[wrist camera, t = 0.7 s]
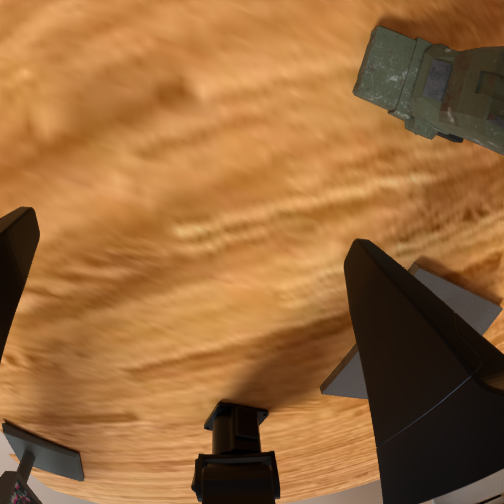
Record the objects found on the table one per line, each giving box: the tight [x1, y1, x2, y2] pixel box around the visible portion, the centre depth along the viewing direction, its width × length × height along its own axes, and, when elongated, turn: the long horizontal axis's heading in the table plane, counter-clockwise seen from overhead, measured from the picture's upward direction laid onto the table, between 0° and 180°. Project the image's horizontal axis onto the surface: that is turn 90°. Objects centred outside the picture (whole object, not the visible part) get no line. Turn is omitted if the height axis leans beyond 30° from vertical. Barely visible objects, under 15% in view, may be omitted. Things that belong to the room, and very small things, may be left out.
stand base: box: [320, 263, 503, 399], centre depth 30 cm, size 18×18×7 cm
